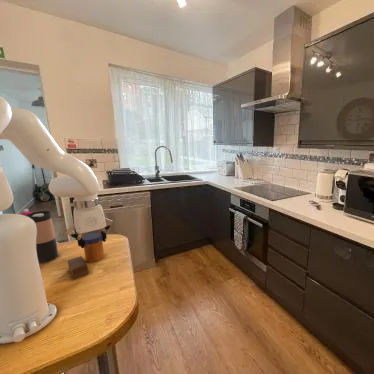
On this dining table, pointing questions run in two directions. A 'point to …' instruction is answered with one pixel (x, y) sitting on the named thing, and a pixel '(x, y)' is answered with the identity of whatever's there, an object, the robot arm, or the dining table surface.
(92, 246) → the jam jar
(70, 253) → the dining table surface
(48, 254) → the travel mug
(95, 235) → the jar lid
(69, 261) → the stand
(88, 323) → the dining table surface
